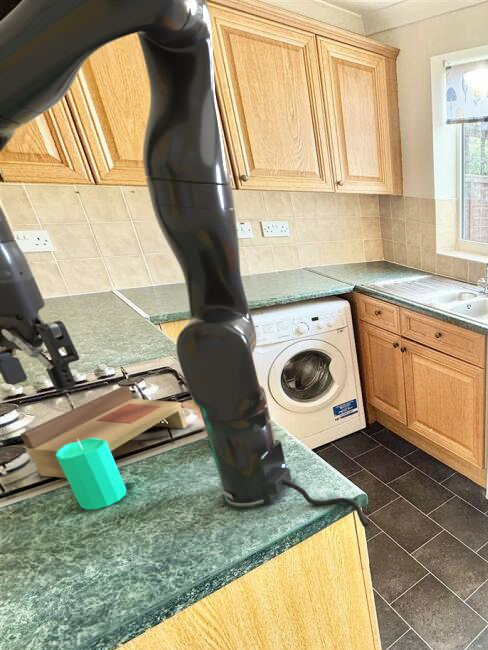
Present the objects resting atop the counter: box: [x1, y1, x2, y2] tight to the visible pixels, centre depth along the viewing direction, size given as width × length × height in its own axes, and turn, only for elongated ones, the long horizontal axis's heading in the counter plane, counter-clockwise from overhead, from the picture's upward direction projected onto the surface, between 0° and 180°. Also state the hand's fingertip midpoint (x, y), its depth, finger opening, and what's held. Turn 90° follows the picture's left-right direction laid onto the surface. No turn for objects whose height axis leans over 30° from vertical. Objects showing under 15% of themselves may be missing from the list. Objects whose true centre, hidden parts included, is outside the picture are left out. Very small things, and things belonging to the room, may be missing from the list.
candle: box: [56, 438, 127, 510], centre depth 70 cm, size 6×6×12 cm
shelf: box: [20, 385, 188, 479], centre depth 84 cm, size 12×20×9 cm, turn 176°
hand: (41, 385), depth 63 cm, fingers open, 8 cm apart
